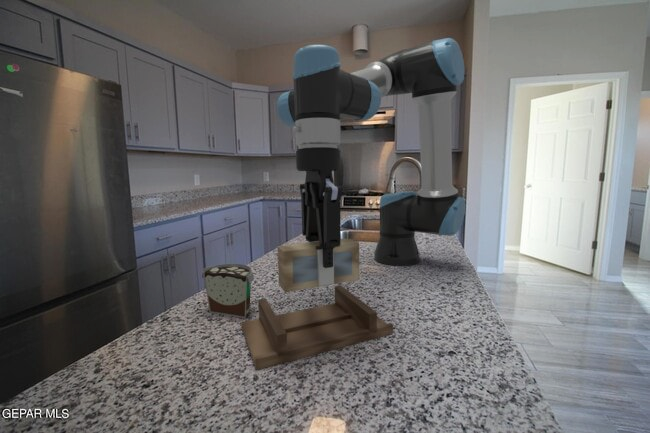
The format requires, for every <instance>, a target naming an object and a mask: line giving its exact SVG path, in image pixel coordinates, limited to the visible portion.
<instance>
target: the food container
mask: <svg viewBox="0 0 650 433" xmlns="http://www.w3.org/2000/svg"><path fill="white" fill-rule="evenodd" d="M201 278H202V279H203V280H204V281H203V282H204V287H205V293H206V299H207V304H208V311H209V313H212V314H217V315H219V314H220V315H225V316H230V317H235V318H236V317H237V318H242V319H247V318H248V316H249V315H250V313H251V312H250V311H251V287H252V286H251V285H252V282H253V281H254V280H255V276H254V273H253V270H252V268H251V266H249V265H247V264H243V263H220V264H216V265H210V266H206V267H204V268H202V271H201Z"/></svg>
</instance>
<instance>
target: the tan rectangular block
mask: <svg viewBox="0 0 650 433" xmlns="http://www.w3.org/2000/svg"><path fill="white" fill-rule="evenodd" d="M316 246H320V244H319V242H311V243H307V242H304V243H296V244H295V243H294V244H293V243H292V244H287V245H285V244H284V245H278V246H277V266H278V267H277V270H278V286H279V287H280V288H281V289H282V290H283V292H284V293H291V292H296V291H301V290H308V289H314V288H320V287H322V286H319V285H318V258H317V249H316ZM359 280H360V242H359V241H356V240H354V239H351V238H350V237H347V238H340V246H338V247H335V248H334V284H330V285H329V286H331V285H338V284H343V283H348V282H349V283H350V282H354V281H355V282H356V281H359ZM325 286H327V285H324V286H323V287H325Z"/></svg>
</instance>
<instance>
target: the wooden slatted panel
mask: <svg viewBox="0 0 650 433" xmlns="http://www.w3.org/2000/svg"><path fill="white" fill-rule="evenodd" d="M257 303H258V304H257V305H258V318H257V319H256V318H255V319H252V320H247V321H242V322H241V325H240V326H241V330H242V332H243V334H244V335H243V336H244V338H245V341H246V344H247V347H248V351H249V353H250V356H251V359H252V361H253V365H254V367H255V371H258V370H260V369H266V368H269V367H272V366H276V365H280V364H283V363H287V362H291V361H295V360H298V359H302V358H307V357H309V356H313V355H317V354H318V355H319V354H320V353H324V352H328V351H332V350H336V349H340V348H343V347H348V346H352V345H355V344H359V343H362V342H366V341H369V340H373V339H377V338H381V337H385V336H389V335H392V334H394V324H393V323H391V322H389V323H387V322H385V321H384V320H382V318H380V317H379V316H378V312H377V311H375V309H373V308H371V307H370V306H369V305H368V304H367V303H365V302H364V301H362V300H361V299H360V298H358V297H357V296H356V295H354V294H353V293H352V292H350V291H349V290H348V289H347V288H345V286H342V285H336V286H334V303H330V304H325V305H321V306H320V305H319V306H315V307H311V308H310V307H309V308H305V309H301V310H300V309H299V310H296V311H290V312H285V313H280V314H276V313H275V312H274V310H273V308H272V306H271V305H270V303H269V301H268V300H267V298H265V299H258V302H257Z"/></svg>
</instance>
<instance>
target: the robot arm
mask: <svg viewBox="0 0 650 433" xmlns="http://www.w3.org/2000/svg"><path fill="white" fill-rule="evenodd" d="M465 70H466V68H465V62H464V57H463V52H462V50H461V47H460V45H459V44H458V42H457V41H456V40H455V39H454V38H451V37H446V38H442V39H441V38H440V39H435V40H432V41H429V42H425V43H422V44H418V45H416V46H411V47H408V48H404V49H402V50H398V51H395V52H393V53H391V54H389V55H387V56H385V57H383V58H379V59H378V60H376V61H372V62H370V63H368V64H367V65H366V66H365V68H364V69H359V70H356V71H354V72H350V73H349V72H346V71H345V70H344V69H341V62H340V54H339V52H338V50H337V49H336V48H335V47H333V46H330V45H327V44H309V45H306V46H303V47H300V48H299V49H298V50H297V51H296V52H295V54H294V57H293V73H292V75H293V76H292V80H293V89H291V90H288V91H285V92H284V93H282V94H281V95H280V96H279V97H278V98H277V103H276V111H277V112H276V113H277V115H278V118H279V120H280V121H281V122H282V123H283V124H284V125H285V126H287V127H290V128H291V127H292V131H293V133H295V145H296V146H298V147H299V148H298V149H296V150H295V162H296V164H295V165H296V167H295V168H296V170H297V171H298V172H306V174H305V182H304V183H300V184H299V192H300V200H301V201H300V202H301V205H300V206H301V207H300V208H301V234H302V236H304V237H305V241H306V243H311V242H319V244H320V246H316V249H317V258H318V285H319V286H321V287H325V286H324V285H326V286H331V285H330V284H332V285H335V284H334V248H335V247H338V246H340V239H341V200H342V195H343V194H342V193H343V188H342V186H341V185H340V186H339V185H337V186H335V183H334V182H335V181H334V177H333V172H334V171H335V172H336V171H339V170H341V150H340V149H339V148H338V146H340V144H341V121H342V120H354V121H356V122H357V121H368V120H371V119H372V118H374V117H375V115H376V114H377V113H378V111H379V110H380V108H381V105H382V104H381V103H382V98H383V97H389V96H398V95H399V96H400V95H406V94H411V99H412V101H414V102H415V104H417V106H418V107H417V108H418V128H419V129H418V130H419V131H418V132H419V148H420V149H419V153H420V169H421V170H420V171H421V173H420V174H421V188H420V189H419V190H418V191H414V190H411V191H401V192H392V193H386V194H383V195H381V197H380V199H379V200H380V201H379V206H378V209H379V236H378V241H377V243H376V247H375V250H374V256H373V257H374V258H373V259H374V261H376V262H378V263H380V264H383V265H384V264H385V265H389V266H411V265H416V264H418V263H419V262H420V251H419V249H418V245H417V242H416V238H415V233H422V234H429V235H436V236H437V235H438V236H449V237H450V236H454V235H456V234H457V233H458V232H459V230H460V228H461V227H462V224H463V221H464V217H465V214H466V208H467V206H466V205H467V204H466V199H464V198H463V197H461V196H459V190H458V188H456V187H455V186H454V185H453V156H452V155H453V154H452V153H453V151H452V149H453V148H452V146H453V145H452V108H451V107H452V104H451V103H452V99H453V97H454V96H455V95H456V94H457V93H458V92H457V90H458V89H457V86H460V85H461V84H462V83H463V82H464V79H465ZM416 192H417V193H416ZM317 240H319V241H317Z"/></svg>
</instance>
